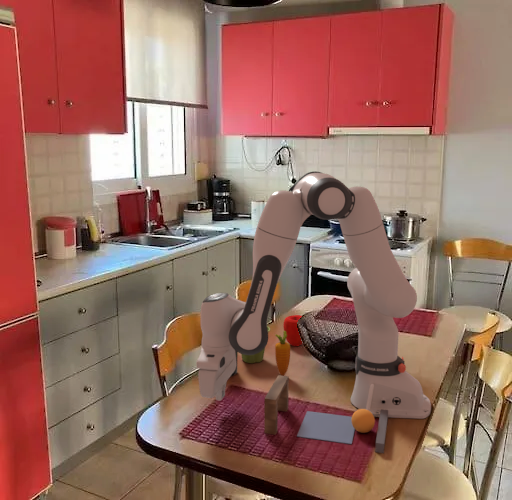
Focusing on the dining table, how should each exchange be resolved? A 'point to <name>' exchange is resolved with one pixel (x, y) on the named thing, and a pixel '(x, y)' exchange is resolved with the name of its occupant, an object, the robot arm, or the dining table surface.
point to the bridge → (275, 403)
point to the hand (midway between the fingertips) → (220, 398)
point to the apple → (292, 330)
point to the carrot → (282, 354)
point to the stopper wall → (381, 431)
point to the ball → (363, 420)
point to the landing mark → (327, 427)
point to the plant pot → (255, 357)
